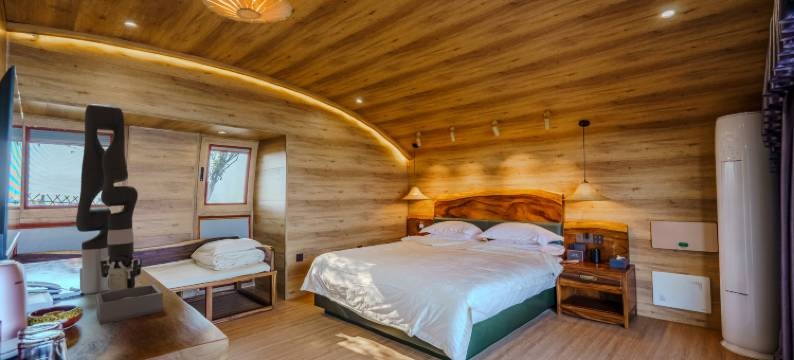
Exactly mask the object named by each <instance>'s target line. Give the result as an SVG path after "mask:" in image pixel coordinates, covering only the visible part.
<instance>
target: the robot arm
mask: <svg viewBox="0 0 794 360" xmlns="http://www.w3.org/2000/svg"><path fill="white" fill-rule="evenodd" d="M124 116H125V115H124V112H123V110H122V109H121V108H120V107H119V106H112V105H106V104H105V105H104V104H95V103H90V104H87V106H86V108H85V114H84V146H83V147H84V148H83V156H82V164H81V174H80V176H81V177H80V179H81V180H80V194H79V201H78V206H77V211H76V219H75V224H76V229H77V231H79V232H81V233H82V232H84V233H85V232H86V233H87V232H99V233H98V234H97V235H95V236H93V237H91V238H90V239H87V240H86V239H85V241H84V240H83V242H82V243H81V265H82V266H81V268H80V269H79V291H80V290H81V291H82V292H83V293H82V294H84V295H86V294H87V295H88V294H89V295H90V294H98V293H104V292H109V274H108V269H114V268H122V269H123V268H124V269H125V273H126V274H127V278H128V279H127V288H134V287H136V278H137V277H138V276H140V275H142V274H141V273H142V262H143V259H142V258H137V259H135V258H134V257H133V254H134V252H135V251H134V250H135V247H134V245H135V244H134V243H135V241H134V231H133V216H134V215H133V214H134V211H135V208H136V204H137V201H138V196H139V194H138V190H137V189H136V188H135V187H134V186H132V185H127V186H126V185H122V186H121V185H118V186H116V185H115V184H116V183H117V184H118V183H121V182H124V181H127V180H128V178H129V172H128V171H129V170H128V166H127V161H126V154H125V153H126V150H125V138H126V135H125V134H126V133H125V132H126V131H125V117H124ZM98 130H99V131H112V133H113V135H112V136H113V137H112V140H111V142H110V144H109V146H107V148H106V149H104V147H103V146H102V144H101V142H100V140H99V137H98ZM100 193H101V194H100ZM99 194H100V200H101V202H102V204H103V205H105V206H107V207H91V206H92V204H93V202H94V200H95V199H96V197H97V196H98V195H99ZM119 206H120V207H121V206H122V209H121V210H120V211H117V212H113V213H112V211H111V208H109V207H119ZM128 267H132V268H131V269H129V270H127V268H128ZM130 272H131V274H130Z"/></svg>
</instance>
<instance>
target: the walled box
mask: <svg viewBox="0 0 794 360" xmlns="http://www.w3.org/2000/svg"><path fill="white" fill-rule="evenodd" d="M163 296H164V295H163V292H162V291H161V290H160V288H158V286H157V285H156V284H155V283H154V284H153V283H152V284H148V285H141V286H134V288H128V289H122V290H116V291H110V292H109V291H104V292H99V293H96V313H97V317H98V322H99V325H100V326H101V325H104V324H109V323H114V322H119V321H124V320H128V319H133V317H134V318H138V317H143V315H144V316H147V315H148V316H149V315H152V314H158V313H162V312H163V311H164V301H163V300H164V298H163Z"/></svg>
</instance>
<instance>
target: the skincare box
mask: <svg viewBox="0 0 794 360" xmlns="http://www.w3.org/2000/svg"><path fill="white" fill-rule="evenodd" d="M131 268H132V267H128V268H127V270H129V269H131ZM108 274H109V290H108V292H110V291H116V290H122V289H128V288H127V279H128V278H127V274H126V273H125V269H124V268H123V269H122V268H114V269H108ZM130 274H131V272H130Z"/></svg>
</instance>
